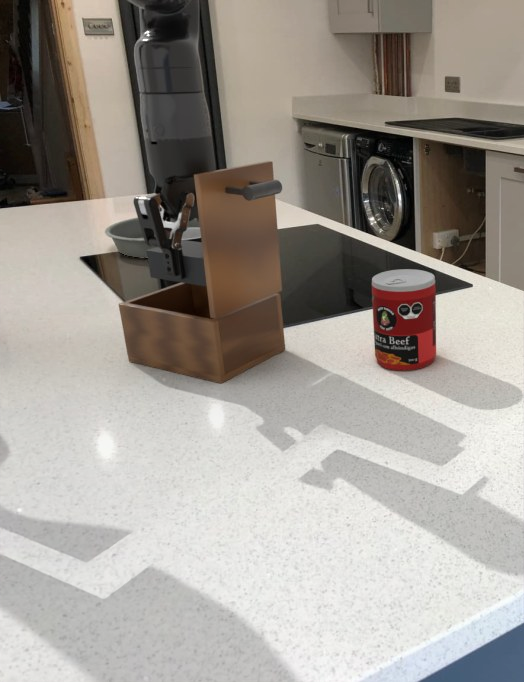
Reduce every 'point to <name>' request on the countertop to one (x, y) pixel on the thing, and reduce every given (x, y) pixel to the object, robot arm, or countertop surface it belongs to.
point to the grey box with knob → (190, 258)
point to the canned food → (404, 318)
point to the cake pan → (133, 236)
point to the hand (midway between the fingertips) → (197, 271)
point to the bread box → (200, 333)
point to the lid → (239, 235)
